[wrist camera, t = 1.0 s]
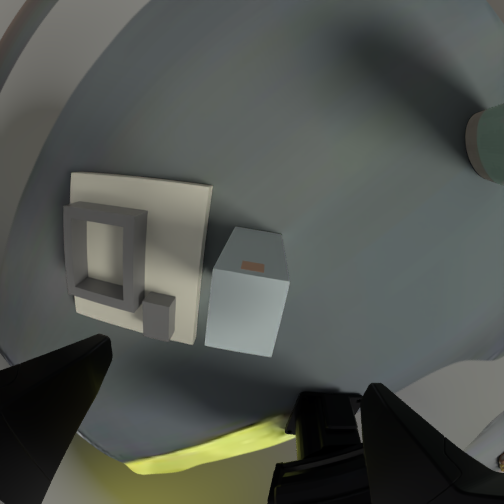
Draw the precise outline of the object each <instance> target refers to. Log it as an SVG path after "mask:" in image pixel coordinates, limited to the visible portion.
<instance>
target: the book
mask: <svg viewBox="0 0 504 504" xmlns="http://www.w3.org/2000/svg"><path fill="white" fill-rule="evenodd" d="M498 462H499V464H500V465H499V466H500V468H501V471H504V453H503V454H501V455H500V460H499V461H498Z"/></svg>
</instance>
